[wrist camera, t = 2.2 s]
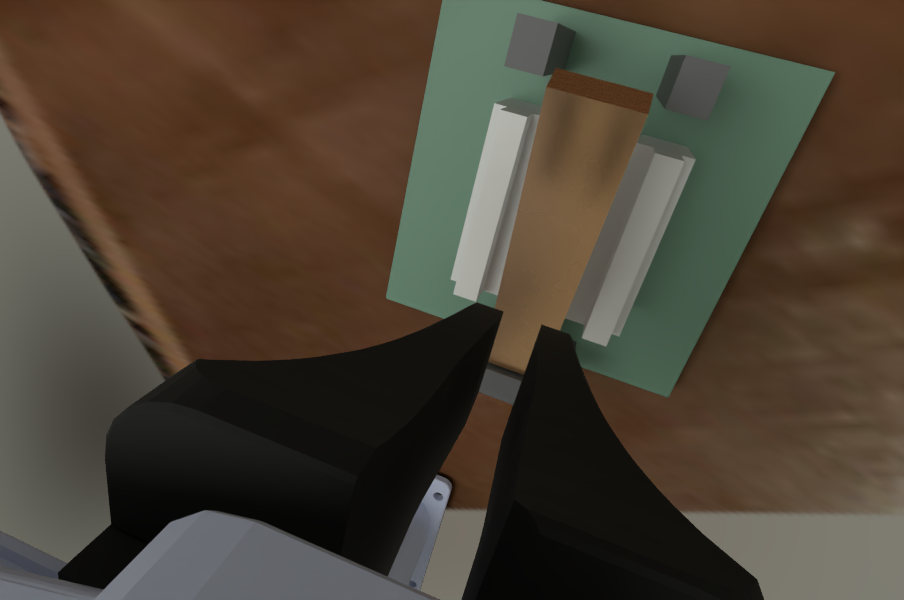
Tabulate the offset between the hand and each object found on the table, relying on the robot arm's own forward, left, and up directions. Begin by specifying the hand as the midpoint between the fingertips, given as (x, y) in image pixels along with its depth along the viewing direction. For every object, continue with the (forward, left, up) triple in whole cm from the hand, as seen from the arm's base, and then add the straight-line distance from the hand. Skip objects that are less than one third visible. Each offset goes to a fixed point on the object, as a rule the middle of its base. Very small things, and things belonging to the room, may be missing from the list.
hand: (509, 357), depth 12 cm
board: (+1, 0, -10) cm, 10 cm away
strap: (+1, 0, -4) cm, 4 cm away
